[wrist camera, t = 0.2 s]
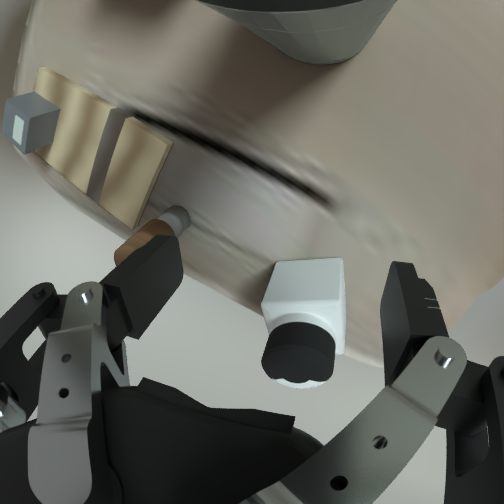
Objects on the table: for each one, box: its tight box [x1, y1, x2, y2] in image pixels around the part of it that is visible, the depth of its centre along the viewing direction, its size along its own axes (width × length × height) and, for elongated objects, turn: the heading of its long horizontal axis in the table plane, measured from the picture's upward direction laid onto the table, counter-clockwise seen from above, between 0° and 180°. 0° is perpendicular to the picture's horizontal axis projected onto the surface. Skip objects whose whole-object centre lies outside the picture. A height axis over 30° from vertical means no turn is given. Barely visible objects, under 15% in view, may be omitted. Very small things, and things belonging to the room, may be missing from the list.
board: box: [33, 67, 174, 230], centre depth 29 cm, size 24×12×1 cm, turn 58°
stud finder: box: [2, 92, 60, 154], centre depth 25 cm, size 7×5×5 cm
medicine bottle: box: [261, 257, 346, 389], centre depth 27 cm, size 7×7×12 cm
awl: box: [114, 206, 191, 266], centre depth 28 cm, size 4×4×10 cm
